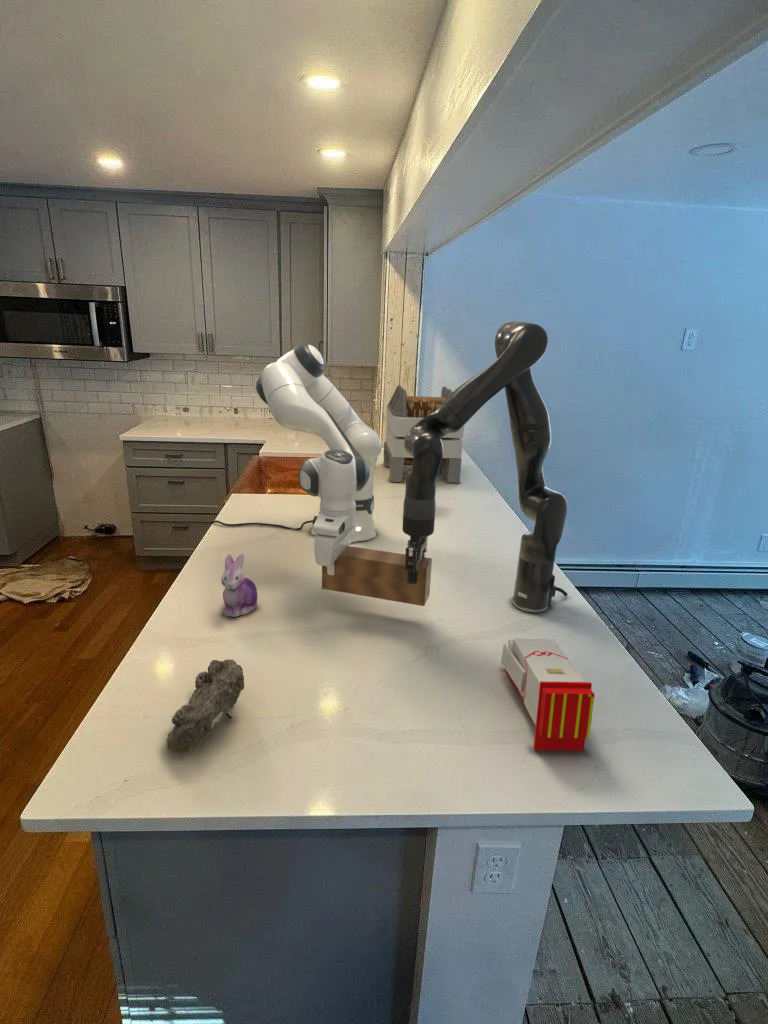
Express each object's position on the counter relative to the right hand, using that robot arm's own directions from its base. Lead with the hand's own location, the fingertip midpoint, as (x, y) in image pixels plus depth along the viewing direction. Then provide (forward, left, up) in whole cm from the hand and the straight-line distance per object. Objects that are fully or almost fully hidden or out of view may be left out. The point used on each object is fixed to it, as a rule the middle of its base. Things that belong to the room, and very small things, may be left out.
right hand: (415, 577), depth 139 cm
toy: (-13, +36, -13) cm, 40 cm away
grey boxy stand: (-57, -128, -13) cm, 141 cm away
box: (+8, -6, -6) cm, 12 cm away
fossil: (+50, +21, -13) cm, 56 cm away
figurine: (+40, -19, -13) cm, 46 cm away
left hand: (+17, -12, -1) cm, 20 cm away
